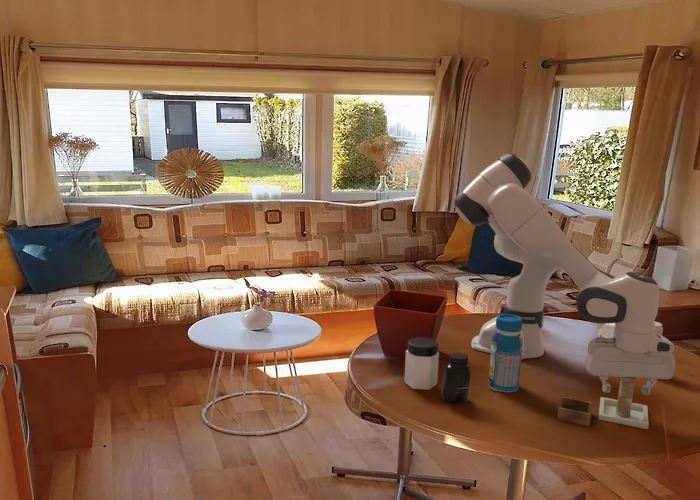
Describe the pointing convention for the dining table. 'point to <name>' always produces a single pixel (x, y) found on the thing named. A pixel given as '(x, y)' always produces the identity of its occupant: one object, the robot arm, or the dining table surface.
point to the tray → (636, 417)
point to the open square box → (574, 411)
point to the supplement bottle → (457, 379)
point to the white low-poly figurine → (607, 330)
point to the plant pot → (407, 319)
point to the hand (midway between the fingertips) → (625, 392)
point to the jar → (421, 363)
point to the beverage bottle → (506, 354)
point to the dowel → (625, 396)
